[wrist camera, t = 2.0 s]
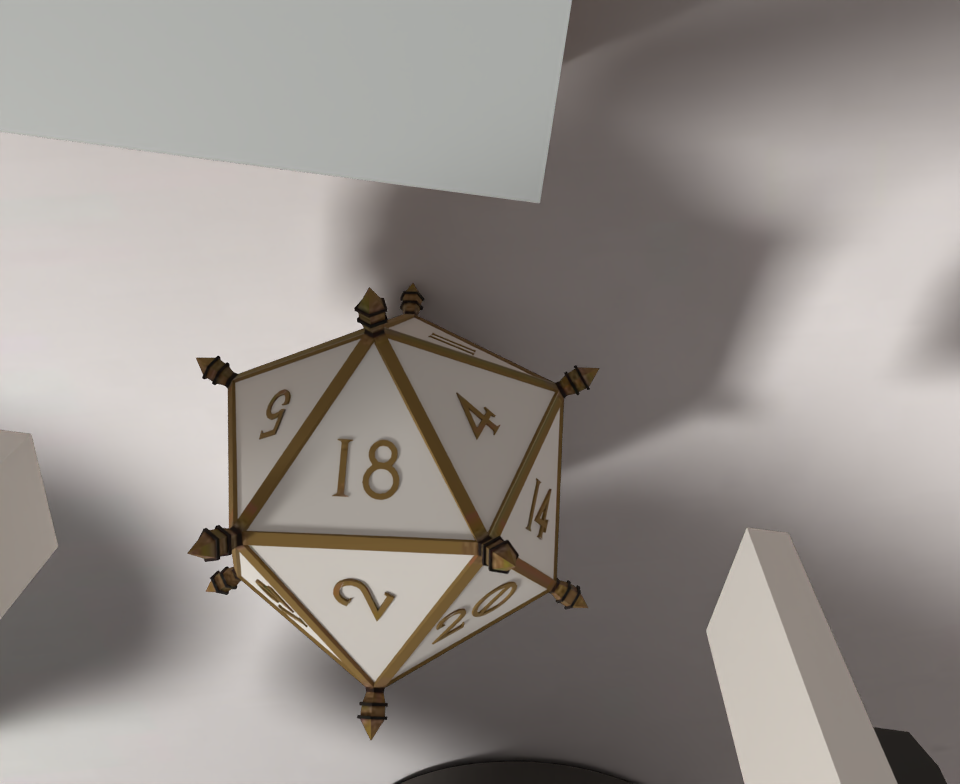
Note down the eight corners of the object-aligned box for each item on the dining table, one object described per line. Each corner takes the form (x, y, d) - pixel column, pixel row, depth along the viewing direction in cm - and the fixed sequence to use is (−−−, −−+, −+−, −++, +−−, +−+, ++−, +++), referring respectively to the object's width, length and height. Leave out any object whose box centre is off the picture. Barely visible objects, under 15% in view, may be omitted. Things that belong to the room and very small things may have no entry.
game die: (472, 281, 22) (739, 293, 13) (467, 558, 23) (705, 735, 14) (137, 277, 18) (203, 291, 9) (155, 616, 19) (228, 916, 10)
